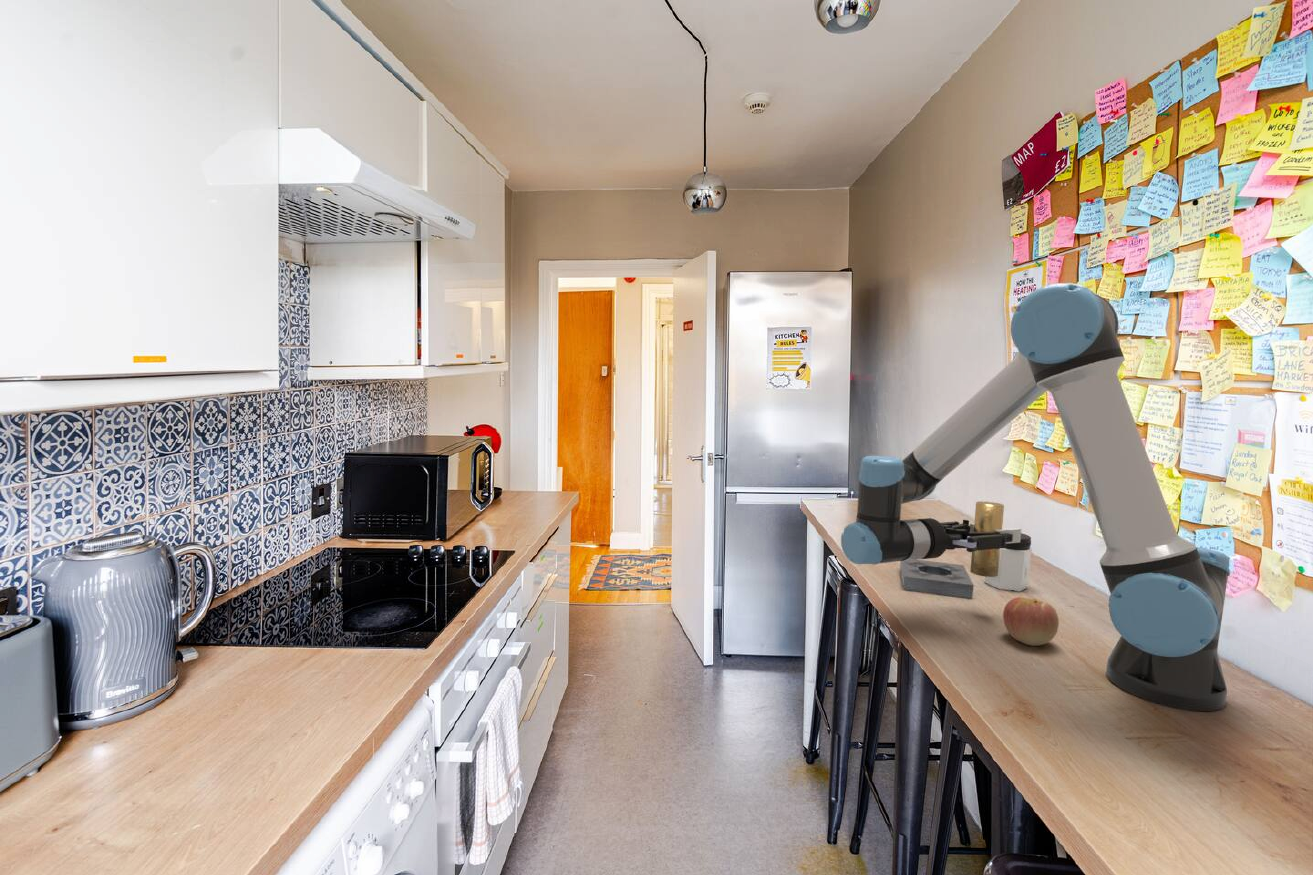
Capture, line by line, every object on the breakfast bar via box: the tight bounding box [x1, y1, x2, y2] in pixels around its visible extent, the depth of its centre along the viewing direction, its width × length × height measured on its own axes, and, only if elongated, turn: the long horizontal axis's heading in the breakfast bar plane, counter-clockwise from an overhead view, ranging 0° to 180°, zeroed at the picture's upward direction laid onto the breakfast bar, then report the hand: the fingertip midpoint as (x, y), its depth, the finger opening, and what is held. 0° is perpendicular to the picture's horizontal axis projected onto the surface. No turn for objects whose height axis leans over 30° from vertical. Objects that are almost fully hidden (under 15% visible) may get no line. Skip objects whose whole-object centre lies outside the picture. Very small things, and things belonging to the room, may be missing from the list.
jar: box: [984, 532, 1032, 592], centre depth 156 cm, size 9×8×12 cm
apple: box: [1002, 596, 1060, 647], centre depth 123 cm, size 9×9×8 cm
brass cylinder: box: [970, 500, 1005, 578], centre depth 135 cm, size 5×5×14 cm
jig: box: [899, 559, 975, 600], centre depth 155 cm, size 16×14×3 cm
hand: (1006, 531), depth 137 cm, fingers closed on brass cylinder, 5 cm apart
